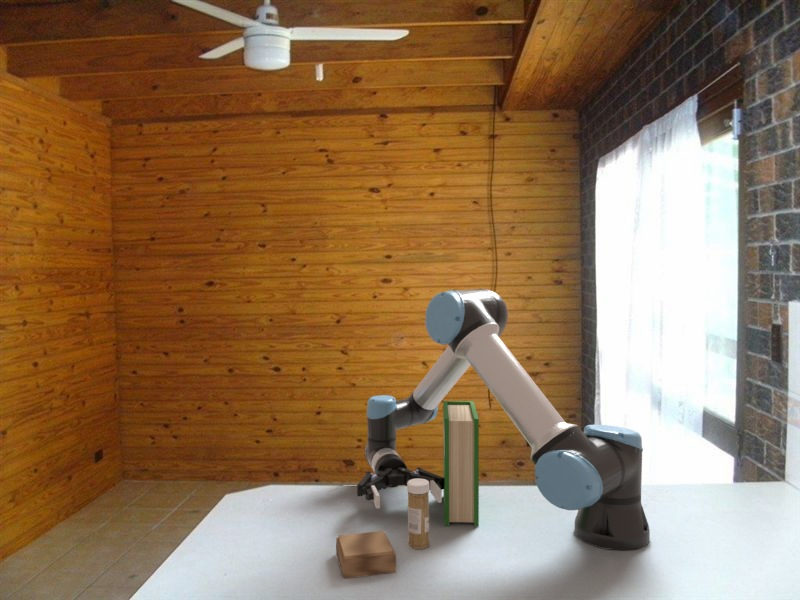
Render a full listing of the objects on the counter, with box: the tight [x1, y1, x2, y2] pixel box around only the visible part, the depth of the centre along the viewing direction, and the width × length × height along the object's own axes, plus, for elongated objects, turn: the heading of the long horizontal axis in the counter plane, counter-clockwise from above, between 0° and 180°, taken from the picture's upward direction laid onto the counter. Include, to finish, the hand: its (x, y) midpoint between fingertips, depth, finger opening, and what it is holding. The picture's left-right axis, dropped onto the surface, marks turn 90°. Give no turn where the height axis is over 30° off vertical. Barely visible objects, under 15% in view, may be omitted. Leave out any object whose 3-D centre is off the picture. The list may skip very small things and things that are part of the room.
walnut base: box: [335, 530, 397, 580], centre depth 123 cm, size 10×10×4 cm
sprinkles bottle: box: [406, 478, 431, 550], centre depth 130 cm, size 5×5×14 cm
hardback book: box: [442, 400, 480, 527], centre depth 148 cm, size 18×7×24 cm, turn 177°
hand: (409, 499), depth 136 cm, fingers open, 13 cm apart
